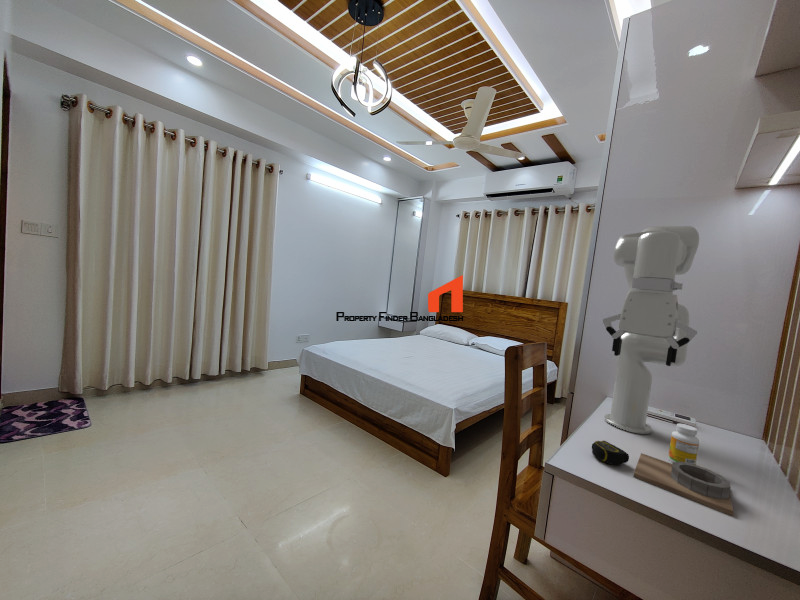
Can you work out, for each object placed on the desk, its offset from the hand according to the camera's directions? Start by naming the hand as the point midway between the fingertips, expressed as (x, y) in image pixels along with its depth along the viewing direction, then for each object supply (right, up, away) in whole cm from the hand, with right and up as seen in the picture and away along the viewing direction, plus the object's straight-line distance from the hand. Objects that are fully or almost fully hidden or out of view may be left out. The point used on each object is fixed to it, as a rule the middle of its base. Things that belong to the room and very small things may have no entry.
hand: (641, 359), depth 74 cm
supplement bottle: (+17, -29, +9) cm, 35 cm away
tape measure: (-3, -27, +7) cm, 28 cm away
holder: (+8, -28, -1) cm, 29 cm away
